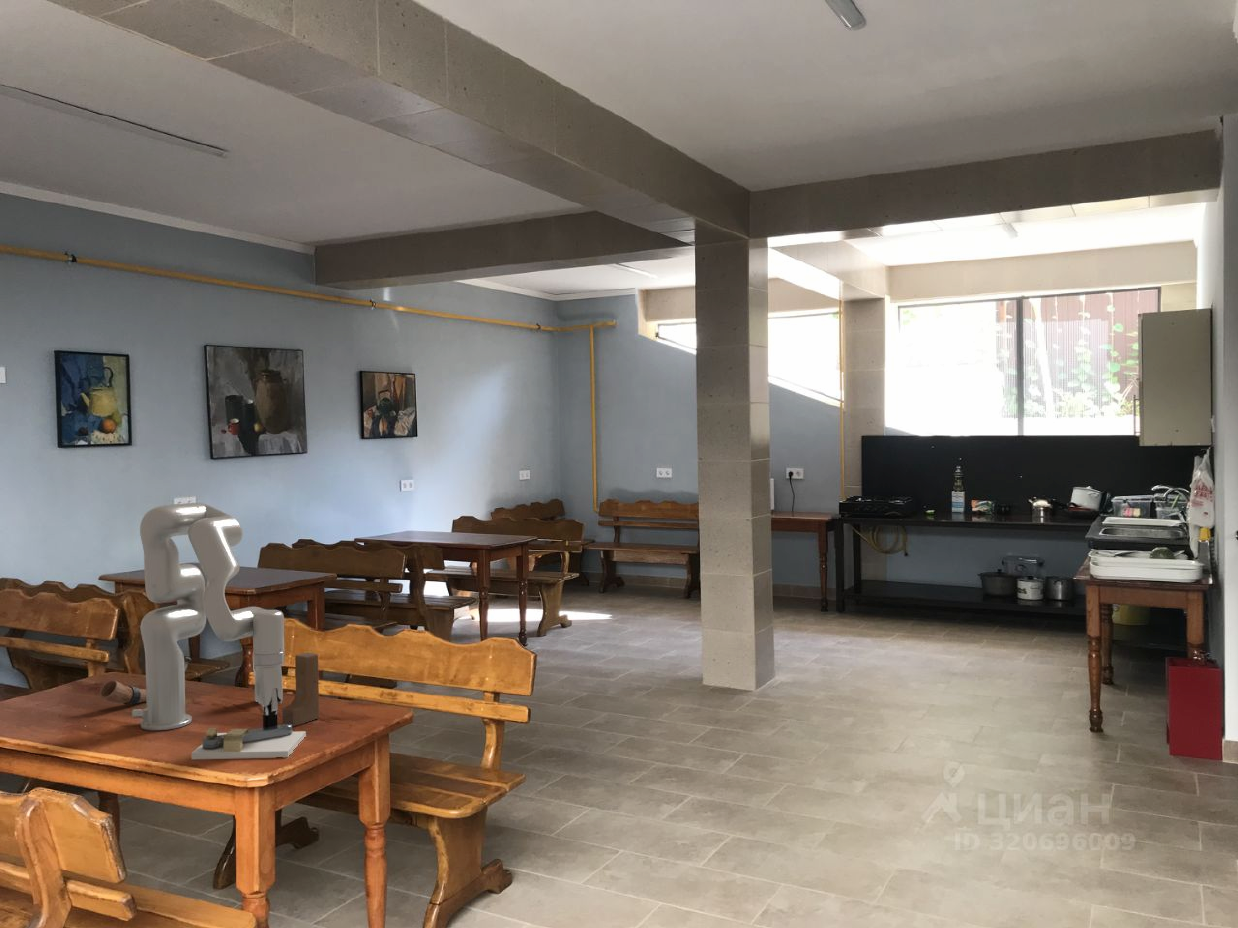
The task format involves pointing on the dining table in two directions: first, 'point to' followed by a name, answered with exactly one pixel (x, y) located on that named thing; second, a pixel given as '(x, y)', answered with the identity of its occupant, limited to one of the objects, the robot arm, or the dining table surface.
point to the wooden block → (304, 691)
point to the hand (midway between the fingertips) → (270, 729)
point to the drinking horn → (126, 691)
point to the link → (250, 735)
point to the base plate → (255, 748)
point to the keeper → (230, 738)
